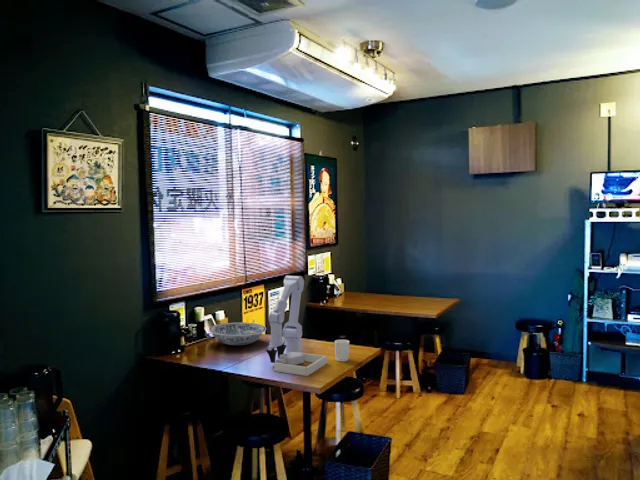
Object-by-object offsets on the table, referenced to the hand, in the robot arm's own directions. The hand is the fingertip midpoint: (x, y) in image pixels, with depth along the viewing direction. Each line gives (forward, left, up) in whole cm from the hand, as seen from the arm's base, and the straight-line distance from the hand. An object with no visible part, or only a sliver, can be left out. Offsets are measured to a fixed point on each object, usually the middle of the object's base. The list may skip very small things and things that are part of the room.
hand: (276, 360), depth 254 cm
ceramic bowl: (-25, -42, -2) cm, 49 cm away
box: (0, +14, -2) cm, 14 cm away
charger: (-1, +6, -2) cm, 6 cm away
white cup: (-21, +28, -2) cm, 35 cm away
